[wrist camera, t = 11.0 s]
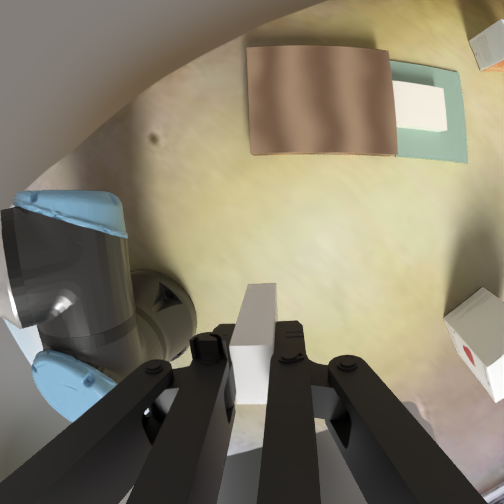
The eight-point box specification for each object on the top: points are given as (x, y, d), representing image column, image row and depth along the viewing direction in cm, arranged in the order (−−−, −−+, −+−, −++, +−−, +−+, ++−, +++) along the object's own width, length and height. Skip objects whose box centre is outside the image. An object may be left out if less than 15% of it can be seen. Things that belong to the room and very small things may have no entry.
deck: (254, 155, 40) (250, 153, 36) (250, 58, 37) (246, 47, 33) (388, 156, 38) (397, 154, 34) (380, 60, 35) (388, 50, 31)
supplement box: (441, 317, 42) (486, 366, 28) (482, 285, 40) (535, 322, 26) (456, 354, 43) (495, 405, 29) (494, 324, 41) (540, 366, 27)
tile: (388, 126, 37) (394, 123, 34) (385, 85, 35) (390, 80, 33) (439, 132, 36) (447, 130, 33) (435, 92, 34) (443, 88, 32)
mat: (395, 156, 38) (395, 156, 37) (386, 61, 35) (387, 60, 34) (466, 163, 36) (467, 163, 36) (457, 73, 33) (459, 72, 33)
